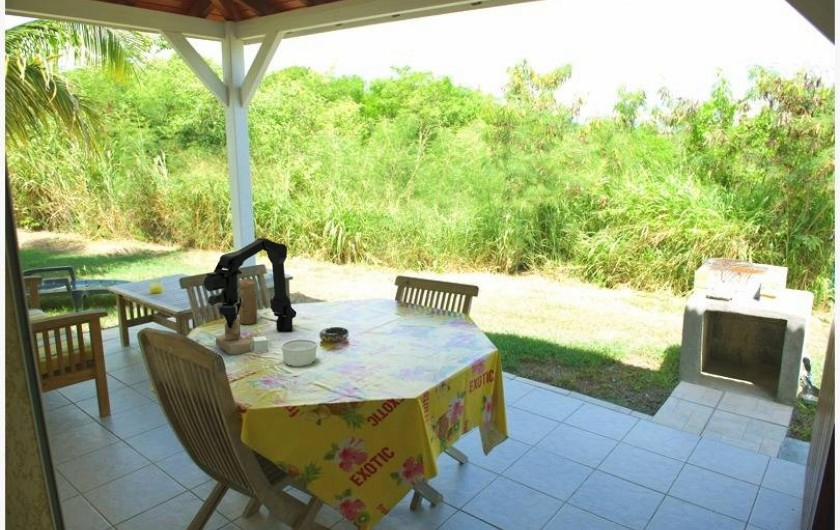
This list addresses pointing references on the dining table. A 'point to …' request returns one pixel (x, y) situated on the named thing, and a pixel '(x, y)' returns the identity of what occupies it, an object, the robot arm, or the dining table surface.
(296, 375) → the dining table surface
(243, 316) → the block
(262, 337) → the grey block
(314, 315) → the dining table surface
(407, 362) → the dining table surface
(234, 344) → the brick
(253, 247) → the robot arm
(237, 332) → the walnut block
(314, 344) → the ramekin
